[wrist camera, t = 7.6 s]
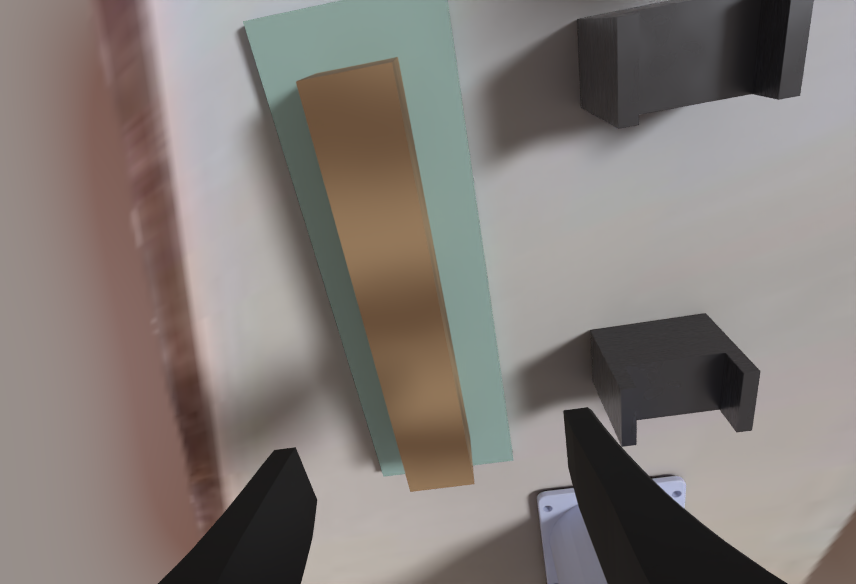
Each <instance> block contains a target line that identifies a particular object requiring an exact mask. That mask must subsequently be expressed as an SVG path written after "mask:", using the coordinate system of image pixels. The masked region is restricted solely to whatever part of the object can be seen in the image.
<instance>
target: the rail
mask: <svg viewBox="0 0 856 584" xmlns="http://www.w3.org/2000/svg"><path fill="white" fill-rule="evenodd" d="M296 84H297V88H298V92H299V95H300V99H301V102H302V106H303V109H304V113H305V117H306V120H307V124H308V127H309V131H310V134H311V138H312V142H313V145H314V149H315V152H316V156H317V160H318V163H319V167H320V170H321V174H322V177H323V181H324V185H325V188H326V192H327V195H328V199H329V202H330V206H331V210H332V213H333V217H334V220H335V224H336V227H337V231H338V235H339V238H340V242H341V245H342V249H343V253H344V256H345V260H346V263H347V267H348V270H349V274H350V278H351V281H352V285H353V288H354V292H355V295H356V299H357V303H358V306H359V310H360V313H361V317H362V320H363V324H364V328H365V331H366V335H367V338H368V342H369V345H370V349H371V353H372V356H373V360H374V363H375V367H376V371H377V374H378V378H379V381H380V385H381V388H382V392H383V396H384V399H385V403H386V406H387V410H388V413H389V417H390V421H391V424H392V428H393V431H394V435H395V438H396V442H397V446H398V449H399V453H400V456H401V460H402V463H403V467H404V471H405V474H406V478H407V481H408V485H409V489H410V492H413V491H421V490H429V489H437V488H446V487H454V486H462V485H471V484H474V474H473V462H472V451H471V440H470V433H469V428H468V423H467V417H466V412H465V407H464V402H463V396H462V391H461V386H460V381H459V375H458V370H457V365H456V360H455V354H454V349H453V344H452V339H451V333H450V328H449V323H448V318H447V312H446V307H445V302H444V296H443V291H442V286H441V281H440V275H439V270H438V265H437V260H436V254H435V249H434V244H433V239H432V233H431V228H430V223H429V218H428V212H427V207H426V202H425V197H424V191H423V186H422V181H421V175H420V170H419V165H418V160H417V154H416V149H415V144H414V139H413V133H412V128H411V123H410V118H409V112H408V107H407V102H406V97H405V91H404V86H403V81H402V76H401V70H400V65H399V60H398V57H395V58H390V59H385V60H380V61H375V62H370V63H365V64H360V65H355V66H350V67H345V68H340V69H335V70H330V71H325V72H320V73H316V74H313V75H311V76H308V77H306V78H303V79H301V80H298V81H296Z"/></svg>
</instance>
